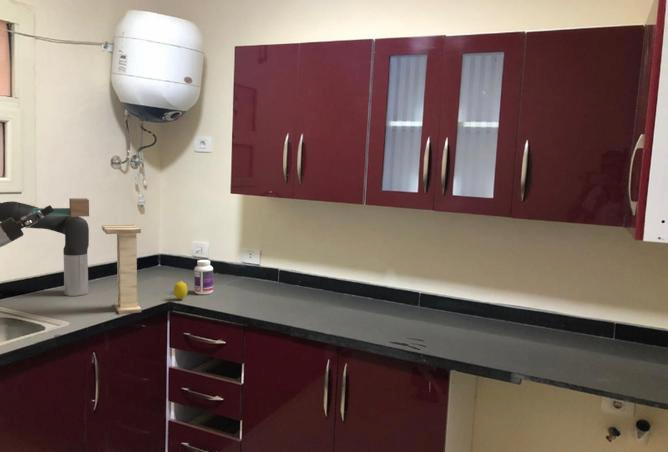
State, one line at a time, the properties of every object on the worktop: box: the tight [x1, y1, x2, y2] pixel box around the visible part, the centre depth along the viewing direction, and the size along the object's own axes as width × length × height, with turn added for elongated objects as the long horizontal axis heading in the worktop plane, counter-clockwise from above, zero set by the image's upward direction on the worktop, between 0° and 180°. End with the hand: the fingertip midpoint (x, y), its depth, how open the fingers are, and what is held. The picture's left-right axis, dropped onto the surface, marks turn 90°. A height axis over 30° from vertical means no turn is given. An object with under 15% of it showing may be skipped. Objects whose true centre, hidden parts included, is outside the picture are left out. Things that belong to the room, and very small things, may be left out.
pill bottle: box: [193, 259, 214, 295], centre depth 244 cm, size 8×8×14 cm
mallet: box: [33, 197, 90, 218], centre depth 201 cm, size 8×18×6 cm, turn 119°
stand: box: [101, 224, 142, 315], centre depth 214 cm, size 15×12×32 cm
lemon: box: [173, 280, 188, 301], centre depth 232 cm, size 6×6×8 cm
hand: (51, 208), depth 200 cm, fingers closed on mallet, 2 cm apart
